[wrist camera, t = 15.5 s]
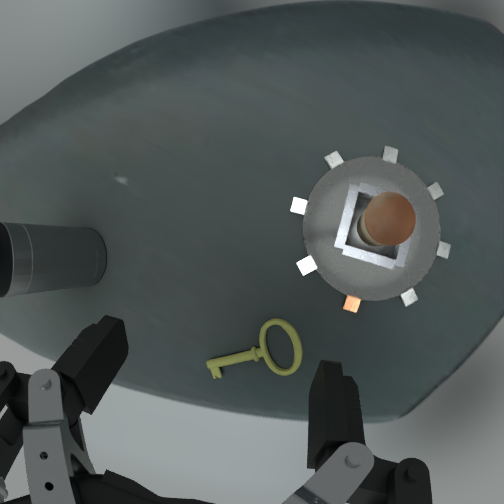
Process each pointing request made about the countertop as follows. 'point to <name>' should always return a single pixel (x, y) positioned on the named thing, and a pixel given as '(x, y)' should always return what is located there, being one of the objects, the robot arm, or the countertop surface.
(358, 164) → the sprocket plate
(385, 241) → the pin
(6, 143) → the countertop surface
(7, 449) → the robot arm
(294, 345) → the key
